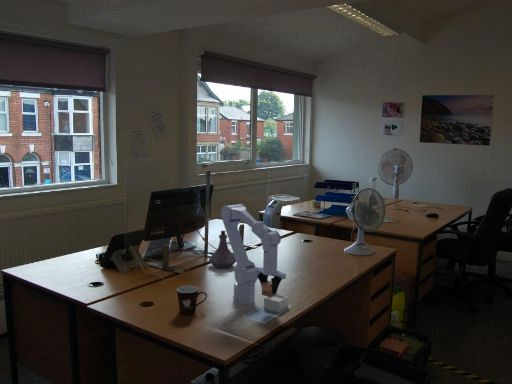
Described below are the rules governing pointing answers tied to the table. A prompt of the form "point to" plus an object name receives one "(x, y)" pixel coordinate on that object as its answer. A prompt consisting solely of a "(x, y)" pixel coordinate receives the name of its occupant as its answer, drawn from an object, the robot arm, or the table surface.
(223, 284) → the table surface
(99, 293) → the table surface
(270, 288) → the terracotta block
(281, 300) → the socket pedestal
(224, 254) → the flask
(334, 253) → the table surface
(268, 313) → the board
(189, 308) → the coffee mug
